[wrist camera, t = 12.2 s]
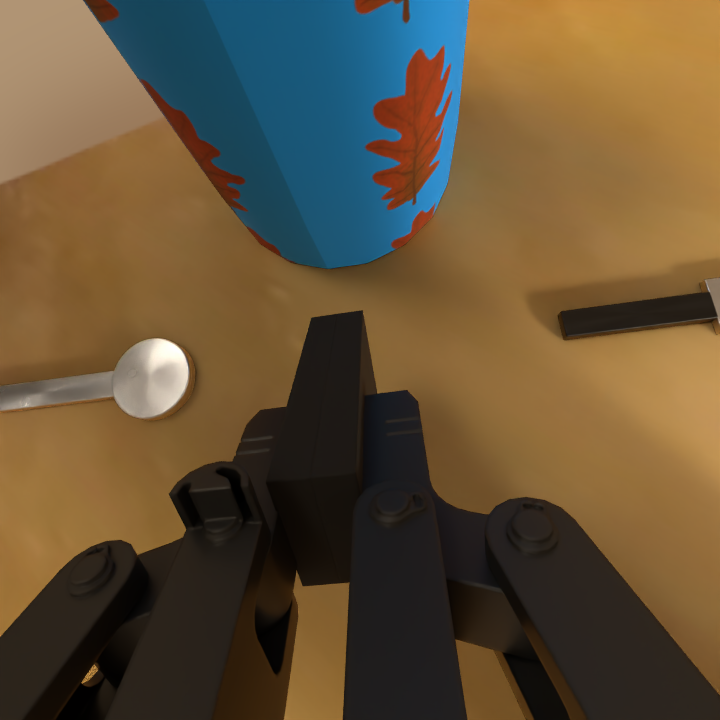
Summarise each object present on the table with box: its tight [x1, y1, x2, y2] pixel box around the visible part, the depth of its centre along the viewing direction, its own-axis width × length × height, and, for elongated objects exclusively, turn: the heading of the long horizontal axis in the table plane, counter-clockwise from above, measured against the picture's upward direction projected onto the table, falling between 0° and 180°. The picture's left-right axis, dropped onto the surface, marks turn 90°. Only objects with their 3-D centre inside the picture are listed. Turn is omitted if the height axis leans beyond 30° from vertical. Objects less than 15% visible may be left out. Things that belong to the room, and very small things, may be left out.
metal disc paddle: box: [0, 338, 195, 421], centre depth 20 cm, size 10×4×1 cm, turn 96°
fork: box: [558, 277, 720, 340], centre depth 18 cm, size 10×2×1 cm, turn 96°
